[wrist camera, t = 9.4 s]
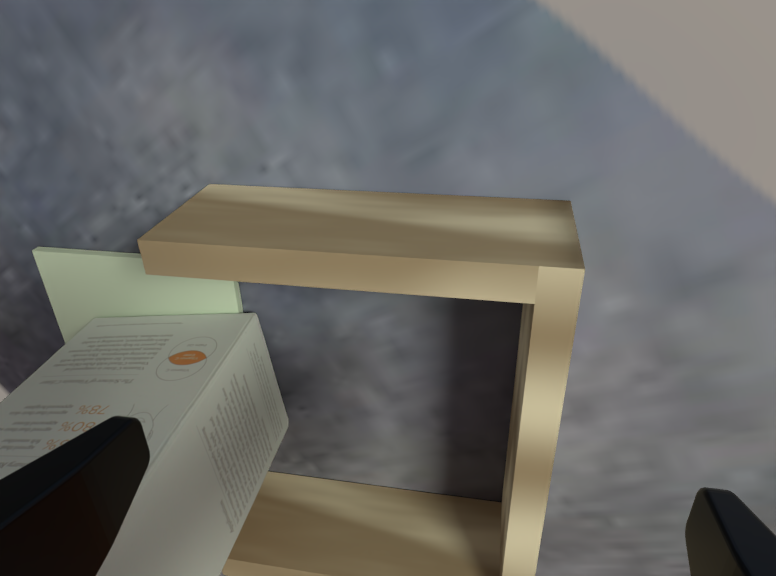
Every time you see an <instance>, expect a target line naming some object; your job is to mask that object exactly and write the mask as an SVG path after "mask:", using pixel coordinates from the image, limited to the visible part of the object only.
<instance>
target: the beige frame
mask: <svg viewBox="0 0 776 576" xmlns="http://www.w3.org/2000/svg"><path fill="white" fill-rule="evenodd" d="M137 242H138V246H139V249H140V253H141V257H142V261H143V265H144V269H145V273H146V274H147V275H160V276H173V277H186V278H200V279H213V280H226V281H239V282H252V283H265V284H279V285H292V286H305V287H318V288H331V289H344V290H357V291H371V292H384V293H397V294H410V295H423V296H436V297H450V298H463V299H476V300H489V301H502V302H515V303H523V308H522V318H521V327H520V336H519V345H518V355H517V364H516V373H515V382H514V392H513V401H512V410H511V420H510V429H509V438H508V447H507V457H506V466H505V475H504V485H503V494H502V503H501V502H494V501H486V500H479V499H471V498H464V497H456V496H449V495H441V494H434V493H426V492H419V491H411V490H404V489H396V488H389V487H381V486H374V485H366V484H359V483H351V482H344V481H336V480H329V479H321V478H314V477H306V476H299V475H292V474H284V473H277V472H269V471H268V472H267V474H266V476H265V479H264V481H263V483H262V485H261V488H260V490H259V492H258V494H257V496H256V498H255V501H254V503H253V505H252V507H251V509H250V511H249V513H248V516H247V518H246V520H245V522H244V524H243V526H242V529H241V531H240V533H239V535H238V537H237V539H236V541H235V543H234V546H233V548H232V550H231V552H230V554H229V556H228V559H227V561H226V563H225V565H224V567H223V569H222V571H223V575H228V576H535V572H536V566H537V560H538V554H539V548H540V542H541V536H542V529H543V523H544V517H545V511H546V505H547V499H548V493H549V487H550V481H551V474H552V468H553V462H554V456H555V450H556V444H557V438H558V432H559V425H560V419H561V413H562V407H563V401H564V395H565V389H566V383H567V377H568V370H569V364H570V358H571V352H572V346H573V340H574V334H575V328H576V322H577V315H578V309H579V303H580V297H581V291H582V285H583V279H584V273H585V267H584V262H583V257H582V253H581V248H580V243H579V239H578V234H577V229H576V225H575V220H574V215H573V211H572V206H571V201H563V200H542V199H520V198H498V197H477V196H455V195H434V194H412V193H390V192H369V191H347V190H325V189H304V188H282V187H261V186H239V185H217V184H209V185H208V186H206V187H205V188H204V189H202V190H201V191H200V192H199V193H197V194H196V195H195V196H193V197H192V198H191V199H189V200H188V201H187V202H186V203H184V204H183V205H182V206H180V207H179V208H178V209H177V210H175V211H174V212H173V213H171V214H170V215H169V216H167V217H166V218H165V219H164V220H162V221H161V222H160V223H158V224H157V225H156V226H155V227H153V228H152V229H151V230H149V231H148V232H147V233H145V234H144V235H143V236H142V237H140V238H139V239H138V240H137Z"/></svg>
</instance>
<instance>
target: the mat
mask: <svg viewBox="0 0 776 576" xmlns="http://www.w3.org/2000/svg"><path fill="white" fill-rule="evenodd" d="M32 252H33V255H34V258H35V261H36V264H37V266H38V269H39V272H40V275H41V277H42V280H43V283H44V286H45V289H46V291H47V294H48V297H49V300H50V302H51V305H52V308H53V311H54V314H55V316H56V319H57V322H58V325H59V328H60V330H61V333H62V336H63V339H64V341H65V344H66V343H67V342H68V341H70V340H71V339H72V338H73V337H74V336H75V335H76V334H77V333H78V332H80V331H81V330H82V329H83V328H84V327H85V326H86V325H87V324H88V323H89V322H90V321H91V320H93V319H94V318H107V317H137V316H164V315H198V314H235V313H243V307H242V301H241V295H240V289H239V283H238V281H226V280H213V279H200V278H186V277H173V276H160V275H147V274H146V273H145V269H144V265H143V261H142V257H141V254H137V253H123V252H108V251H94V250H80V249H65V248H51V247H37V248H35V249H34V250H32Z"/></svg>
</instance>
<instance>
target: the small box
mask: <svg viewBox="0 0 776 576" xmlns="http://www.w3.org/2000/svg"><path fill="white" fill-rule="evenodd" d="M118 415H119V416H127V417H135V418H137V419H138V420H139V421H140V422H141V424H142V427H143V430H144V434H145V437H146V440H147V443H148V447H149V450H150V461H149V465H148V468H147V470H146V472H145V474H144V477H143V479H142V481H141V483H140V486H139V488H138V490H137V492H136V495H135V497H134V499H133V501H132V504H131V506H130V508H129V510H128V513H127V515H126V517H125V519H124V522H123V524H122V526H121V528H120V531H119V533H118V535H117V537H116V539H115V541H114V543H113V545H112V547H111V549H110V551H109V553H108V555H107V557H106V559H105V560H104V562H103V564H102V566H101V568H100V569H99V571H98V573H97V575H96V576H220V574H221V572H222V569H223V567H224V565H225V563H226V561H227V559H228V556H229V554H230V552H231V550H232V548H233V546H234V543H235V541H236V539H237V537H238V535H239V533H240V531H241V529H242V526H243V524H244V522H245V520H246V518H247V516H248V513H249V511H250V509H251V507H252V505H253V503H254V501H255V498H256V496H257V494H258V492H259V490H260V488H261V485H262V483H263V481H264V479H265V476H266V474H267V472H268V470H269V468H270V466H271V463H272V461H273V459H274V457H275V455H276V452H277V450H278V448H279V446H280V444H281V442H282V440H283V438H284V435H285V433H286V431H287V428H288V425H289V423H288V422H289V419H288V417H287V413H286V410H285V407H284V403H283V400H282V397H281V393H280V390H279V387H278V383H277V380H276V377H275V373H274V370H273V366H272V363H271V359H270V355H269V352H268V349H267V346H266V342H265V339H264V336H263V333H262V329H261V326H260V323H259V319H258V316H257V314H256V313H235V314H198V315H164V316H137V317H107V318H94V319H93V320H91V321H90V322H89V323H88V324H87V325H86V326H85V327H84V328H83V329H82V330H81V331H80V332H78V333H77V334H76V335H75V336H74V337H73V338H72V339H71V340H70V341H68V342H67V343H66V344H65V345H64V346H63V347H62V348H60V349H59V350H58V351H57V352H56V353H55V354H54V355H53V356H52V357H51V358H50V359H48V360H47V361H46V362H45V363H44V364H43V365H42V366H41V367H40V368H39V369H37V370H36V371H35V372H34V373H33V374H32V375H31V376H30V377H29V378H27V379H26V380H25V381H24V382H23V383H22V384H21V385H20V386H18V387H17V388H16V389H15V390H14V391H13V392H12V393H11V394H9V395H8V396H7V397H6V398H5V399H4V400H3V401H2V402H0V479H2V478H4V477H5V476H7V475H9V474H11V473H13V472H14V471H16V470H18V469H20V468H21V467H23V466H25V465H27V464H29V463H30V462H32V461H34V460H36V459H37V458H39V457H41V456H43V455H45V454H46V453H48V452H50V451H52V450H53V449H55V448H57V447H59V446H61V445H62V444H64V443H66V442H68V441H69V440H71V439H73V438H75V437H77V436H78V435H80V434H82V433H84V432H85V431H87V430H89V429H91V428H93V427H94V426H96V425H98V424H100V423H101V422H103V421H105V420H107V419H109V418H111V417H113V416H118Z"/></svg>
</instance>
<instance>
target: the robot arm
mask: <svg viewBox="0 0 776 576" xmlns="http://www.w3.org/2000/svg"><path fill="white" fill-rule="evenodd" d="M149 461H150V450H149V447H148V443H147V440H146V437H145V434H144V430H143V427H142V424H141V422H140V421H139V420H138V419H137V418H135V417H127V416H119V415H118V416H113V417H111V418H109V419H107V420H105V421H103V422H101V423H100V424H98V425H96V426H94V427H93V428H91V429H89V430H87V431H85V432H84V433H82V434H80V435H78V436H77V437H75V438H73V439H71V440H69V441H68V442H66V443H64V444H62V445H61V446H59V447H57V448H55V449H53V450H52V451H50V452H48V453H46V454H45V455H43V456H41V457H39V458H37V459H36V460H34V461H32V462H30V463H29V464H27V465H25V466H23V467H21V468H20V469H18V470H16V471H14V472H13V473H11V474H9V475H7V476H5V477H4V478H2V479H0V576H96V575H97V573H98V571H99V569H100V568H101V566H102V564H103V562H104V560H105V559H106V557H107V555H108V553H109V551H110V549H111V547H112V545H113V543H114V541H115V539H116V537H117V535H118V533H119V531H120V528H121V526H122V524H123V522H124V519H125V517H126V515H127V513H128V510H129V508H130V506H131V504H132V501H133V499H134V497H135V495H136V492H137V490H138V488H139V486H140V483H141V481H142V479H143V477H144V474H145V472H146V470H147V468H148V465H149ZM685 538H686V546H687V553H688V559H689V566H690V573H691V576H776V536H775V534H774V533H773V532H772V531H771V530H770V529H769V528H768V527H767V526H766V525H765V524H764V523H763V522H762V521H761V520H760V519H759V518H758V517H757V516H756V515H755V514H754V513H753V512H752V511H751V510H750V509H749V508H748V507H747V506H746V505H745V504H744V503H743V502H742V501H741V500H740V499H739V498H738V497H737V496H736V495H735V494H734V493H732V492H731V491H728V490H723V489H714V488H706V487H704V488H701V489H700V490H699V491H698V492H697V494H696V497H695V500H694V503H693V506H692V509H691V511H690V514H689V517H688V520H687V523H686V529H685Z"/></svg>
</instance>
